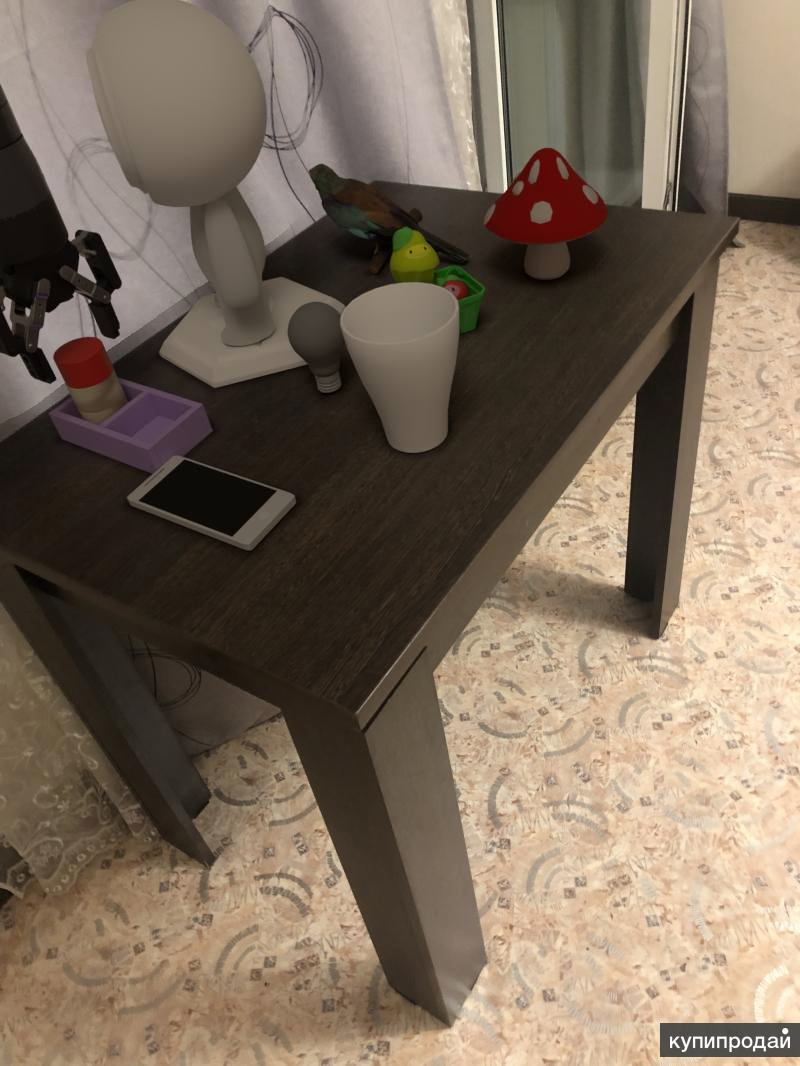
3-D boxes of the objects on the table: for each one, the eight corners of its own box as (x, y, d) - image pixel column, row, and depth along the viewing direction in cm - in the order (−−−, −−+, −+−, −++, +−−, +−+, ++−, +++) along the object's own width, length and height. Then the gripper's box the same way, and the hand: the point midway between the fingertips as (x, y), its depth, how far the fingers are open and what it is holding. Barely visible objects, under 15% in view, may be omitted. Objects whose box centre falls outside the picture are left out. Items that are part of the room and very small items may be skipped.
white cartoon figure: (158, 318, 105) (37, 2, 80) (330, 275, 107) (264, -45, 82) (164, 401, 90) (20, 49, 66) (363, 350, 92) (294, -10, 68)
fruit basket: (399, 364, 90) (384, 268, 82) (369, 330, 96) (352, 237, 88) (490, 331, 92) (484, 235, 84) (455, 299, 98) (446, 207, 90)
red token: (87, 393, 81) (74, 368, 79) (55, 382, 83) (42, 357, 81) (123, 367, 84) (112, 341, 82) (91, 357, 86) (80, 332, 84)
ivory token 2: (109, 441, 85) (98, 418, 83) (78, 429, 88) (67, 407, 86) (143, 414, 88) (133, 391, 86) (112, 404, 90) (102, 381, 88)
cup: (457, 393, 84) (445, 272, 75) (482, 455, 77) (471, 328, 67) (358, 415, 84) (333, 295, 74) (373, 478, 76) (347, 355, 67)
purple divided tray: (159, 476, 81) (147, 449, 78) (61, 439, 88) (47, 413, 86) (213, 431, 85) (203, 403, 83) (115, 398, 92) (103, 372, 90)
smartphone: (250, 552, 71) (247, 544, 71) (127, 504, 78) (124, 497, 78) (298, 501, 75) (296, 493, 75) (177, 460, 82) (174, 453, 82)
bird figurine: (483, 237, 107) (390, 100, 98) (461, 275, 101) (359, 133, 92) (409, 281, 116) (318, 159, 107) (384, 319, 109) (285, 192, 101)
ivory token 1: (98, 418, 83) (86, 393, 81) (67, 407, 86) (54, 383, 83) (133, 391, 86) (123, 367, 84) (102, 381, 88) (91, 357, 86)
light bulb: (320, 369, 91) (301, 287, 84) (367, 377, 89) (351, 294, 82) (292, 400, 87) (270, 317, 80) (340, 409, 85) (321, 324, 78)
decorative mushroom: (478, 304, 96) (469, 176, 86) (496, 249, 106) (490, 127, 95) (600, 304, 93) (606, 170, 82) (608, 247, 102) (614, 121, 92)
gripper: (42, 163, 77) (107, 316, 88) (-90, 228, 69) (1, 388, 80) (94, 170, 73) (156, 329, 84) (-38, 240, 65) (49, 405, 77)
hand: (80, 358), depth 82 cm, fingers open, 8 cm apart
